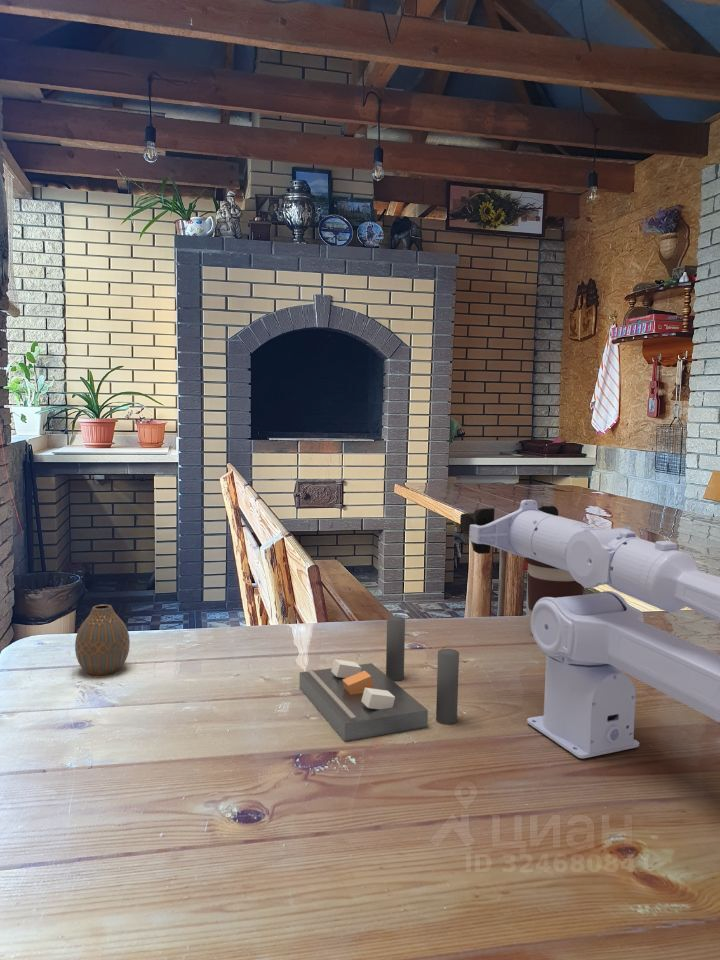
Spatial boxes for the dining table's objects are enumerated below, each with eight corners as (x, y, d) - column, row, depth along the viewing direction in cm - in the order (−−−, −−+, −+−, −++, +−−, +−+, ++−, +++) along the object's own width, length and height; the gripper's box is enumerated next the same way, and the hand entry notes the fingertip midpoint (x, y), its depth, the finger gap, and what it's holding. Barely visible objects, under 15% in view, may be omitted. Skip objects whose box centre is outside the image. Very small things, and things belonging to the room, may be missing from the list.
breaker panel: (427, 727, 79) (428, 707, 79) (344, 741, 76) (344, 720, 75) (371, 677, 94) (371, 660, 94) (299, 687, 90) (299, 670, 90)
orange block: (374, 688, 84) (371, 676, 84) (351, 697, 83) (348, 685, 83) (367, 682, 86) (364, 670, 86) (345, 691, 85) (342, 679, 85)
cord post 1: (406, 679, 94) (408, 620, 93) (390, 681, 93) (391, 622, 92) (399, 673, 96) (400, 615, 95) (382, 675, 95) (384, 617, 94)
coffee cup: (593, 646, 109) (598, 550, 107) (529, 644, 109) (533, 548, 108) (575, 626, 119) (579, 538, 117) (516, 625, 119) (519, 537, 117)
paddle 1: (358, 679, 89) (361, 667, 89) (336, 676, 88) (339, 664, 88) (352, 674, 91) (355, 662, 91) (331, 671, 90) (334, 659, 90)
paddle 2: (391, 710, 80) (395, 697, 80) (368, 708, 78) (371, 694, 79) (384, 704, 82) (387, 690, 82) (361, 701, 80) (364, 687, 80)
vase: (138, 662, 98) (137, 601, 98) (116, 680, 92) (115, 614, 91) (90, 660, 99) (89, 598, 98) (65, 678, 92) (64, 612, 91)
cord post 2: (460, 722, 81) (463, 654, 80) (442, 725, 80) (444, 656, 79) (450, 714, 83) (452, 647, 82) (432, 717, 82) (434, 650, 81)
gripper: (603, 503, 84) (534, 489, 97) (500, 507, 79) (441, 492, 91) (599, 561, 85) (531, 540, 98) (497, 569, 80) (438, 545, 92)
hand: (487, 520), depth 94 cm, fingers open, 7 cm apart
